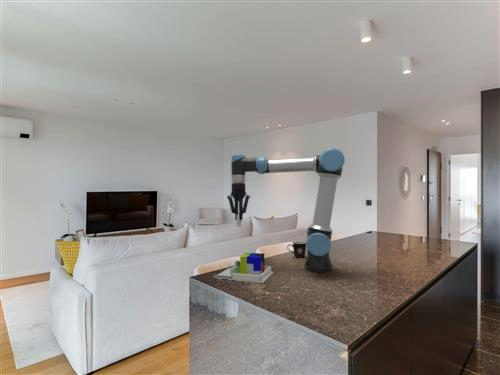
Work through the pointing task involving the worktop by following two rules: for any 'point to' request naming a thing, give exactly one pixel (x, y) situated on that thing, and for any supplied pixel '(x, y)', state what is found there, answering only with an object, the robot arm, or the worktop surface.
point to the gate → (236, 268)
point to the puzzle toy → (252, 263)
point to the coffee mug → (298, 249)
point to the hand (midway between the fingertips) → (238, 226)
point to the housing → (246, 275)
